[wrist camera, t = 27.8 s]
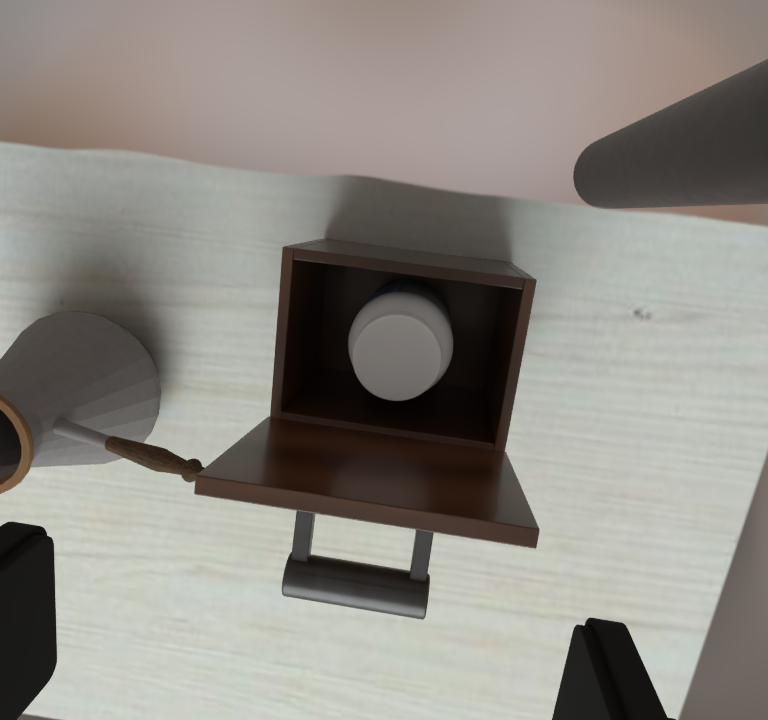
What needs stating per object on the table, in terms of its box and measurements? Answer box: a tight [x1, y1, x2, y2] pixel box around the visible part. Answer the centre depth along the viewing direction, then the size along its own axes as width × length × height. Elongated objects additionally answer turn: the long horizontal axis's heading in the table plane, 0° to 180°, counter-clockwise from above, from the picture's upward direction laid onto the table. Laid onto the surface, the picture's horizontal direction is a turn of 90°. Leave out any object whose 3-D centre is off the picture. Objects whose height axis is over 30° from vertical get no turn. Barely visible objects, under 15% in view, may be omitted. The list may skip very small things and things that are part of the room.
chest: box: [270, 239, 536, 452], centre depth 36 cm, size 10×13×11 cm
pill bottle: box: [348, 279, 453, 401], centre depth 35 cm, size 6×6×11 cm
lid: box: [194, 417, 539, 619], centre depth 27 cm, size 10×13×5 cm
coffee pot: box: [0, 311, 204, 494], centre depth 37 cm, size 21×12×15 cm, turn 87°
